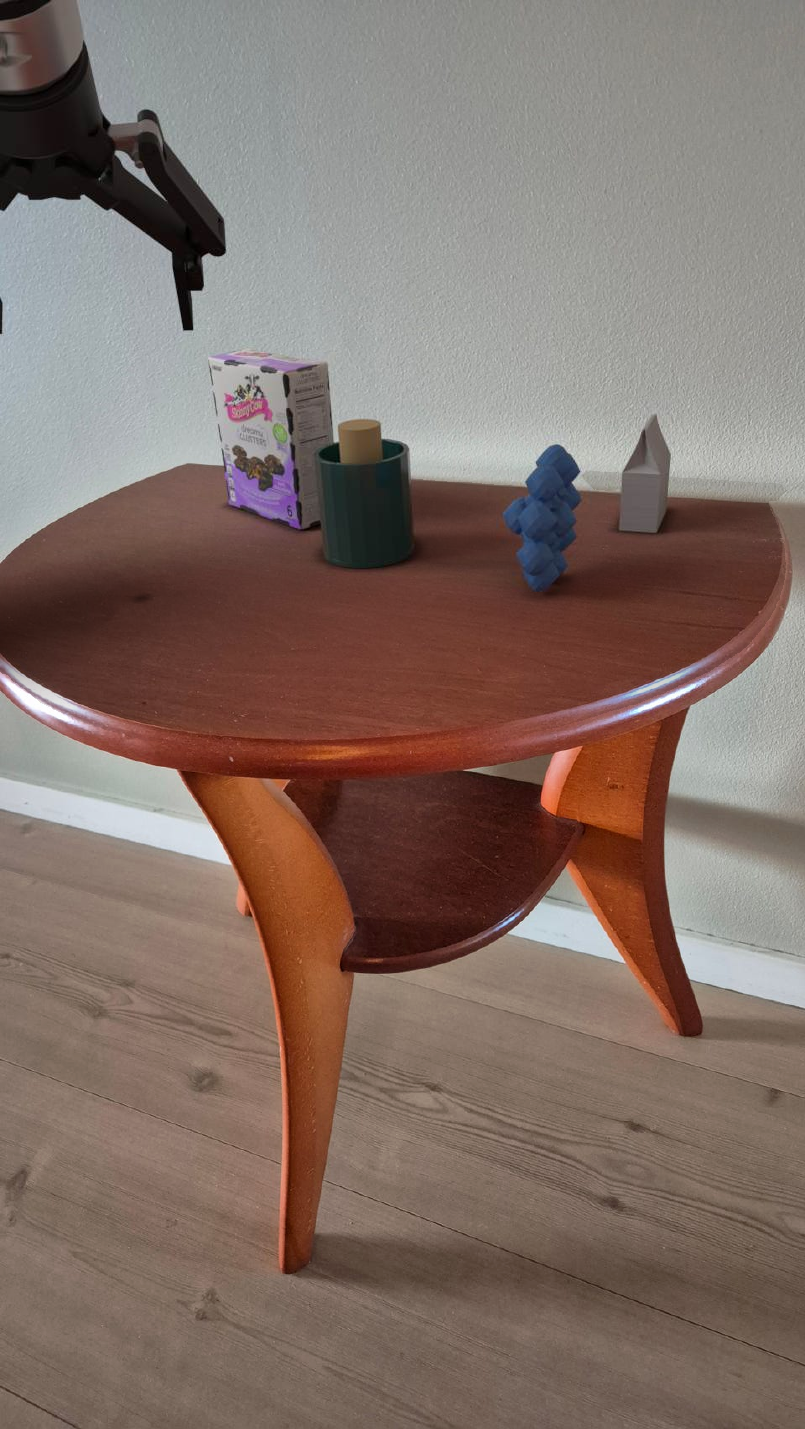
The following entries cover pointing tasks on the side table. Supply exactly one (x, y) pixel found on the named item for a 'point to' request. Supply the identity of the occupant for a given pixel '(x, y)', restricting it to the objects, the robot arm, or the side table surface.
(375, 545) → the dark green cup
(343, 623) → the side table surface
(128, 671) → the side table surface
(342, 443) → the tan cylinder
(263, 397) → the candy box
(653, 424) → the grey milk carton
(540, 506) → the grapes
